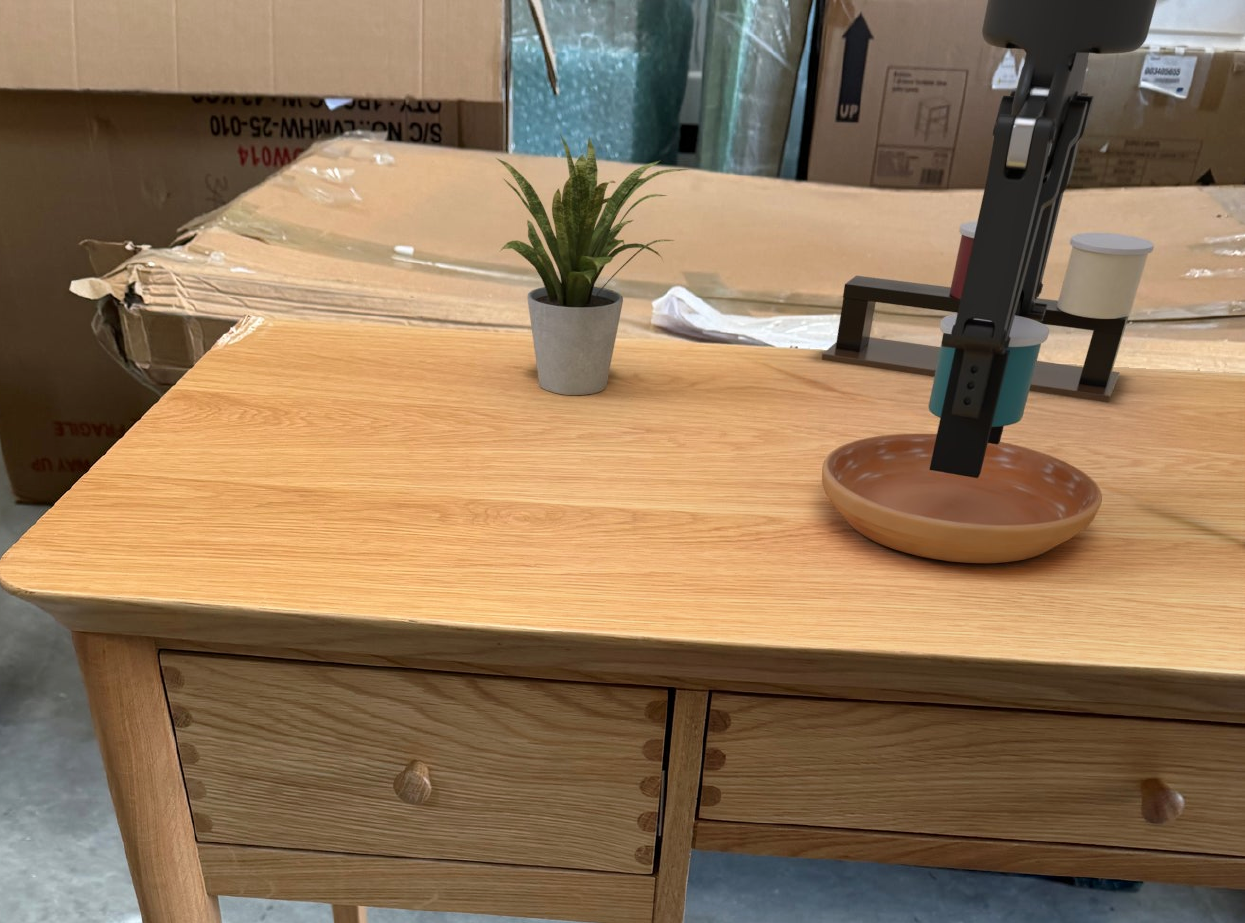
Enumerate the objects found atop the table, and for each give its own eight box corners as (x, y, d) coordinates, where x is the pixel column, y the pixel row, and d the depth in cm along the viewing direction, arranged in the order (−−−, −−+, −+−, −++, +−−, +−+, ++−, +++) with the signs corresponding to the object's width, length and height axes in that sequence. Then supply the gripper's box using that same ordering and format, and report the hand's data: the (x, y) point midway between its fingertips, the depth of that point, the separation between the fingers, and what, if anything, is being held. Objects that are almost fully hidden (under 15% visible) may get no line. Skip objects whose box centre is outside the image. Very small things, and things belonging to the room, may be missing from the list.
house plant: (709, 408, 89) (735, 148, 78) (533, 426, 85) (536, 154, 74) (630, 356, 99) (643, 119, 88) (470, 370, 95) (464, 123, 84)
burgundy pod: (1038, 300, 92) (1055, 231, 89) (988, 309, 89) (1004, 239, 86) (980, 284, 95) (994, 218, 92) (930, 292, 93) (944, 225, 90)
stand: (1104, 412, 90) (1130, 326, 86) (820, 369, 97) (832, 287, 93) (1115, 388, 95) (1140, 305, 91) (843, 348, 102) (855, 270, 98)
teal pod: (1048, 418, 68) (1071, 330, 65) (980, 435, 65) (1001, 344, 62) (969, 391, 71) (988, 307, 69) (902, 406, 69) (919, 319, 66)
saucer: (861, 460, 81) (869, 414, 79) (1108, 507, 75) (1123, 459, 73) (777, 541, 70) (784, 490, 68) (1059, 604, 64) (1075, 550, 62)
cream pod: (1149, 313, 89) (1171, 244, 86) (1101, 323, 87) (1122, 252, 84) (1085, 297, 93) (1103, 229, 90) (1037, 306, 90) (1054, 237, 87)
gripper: (1032, -60, 63) (935, 401, 78) (961, -59, 50) (861, 495, 65) (1185, -56, 60) (1055, 420, 75) (1153, -53, 47) (1003, 521, 62)
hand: (965, 454), depth 70 cm, fingers closed on teal pod, 6 cm apart
